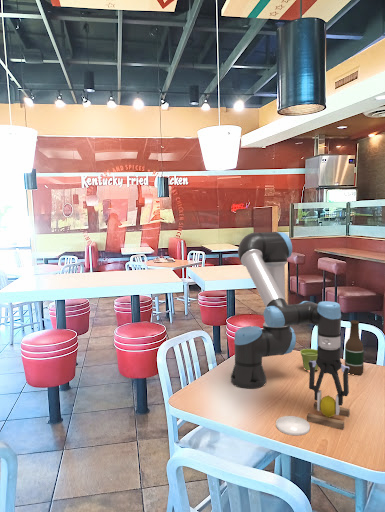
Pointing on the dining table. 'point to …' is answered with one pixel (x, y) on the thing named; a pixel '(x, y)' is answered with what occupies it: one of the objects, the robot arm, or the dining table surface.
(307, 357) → the plant pot
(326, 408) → the lemon
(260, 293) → the robot arm
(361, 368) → the beer bottle
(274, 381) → the dining table surface
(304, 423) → the saucer
